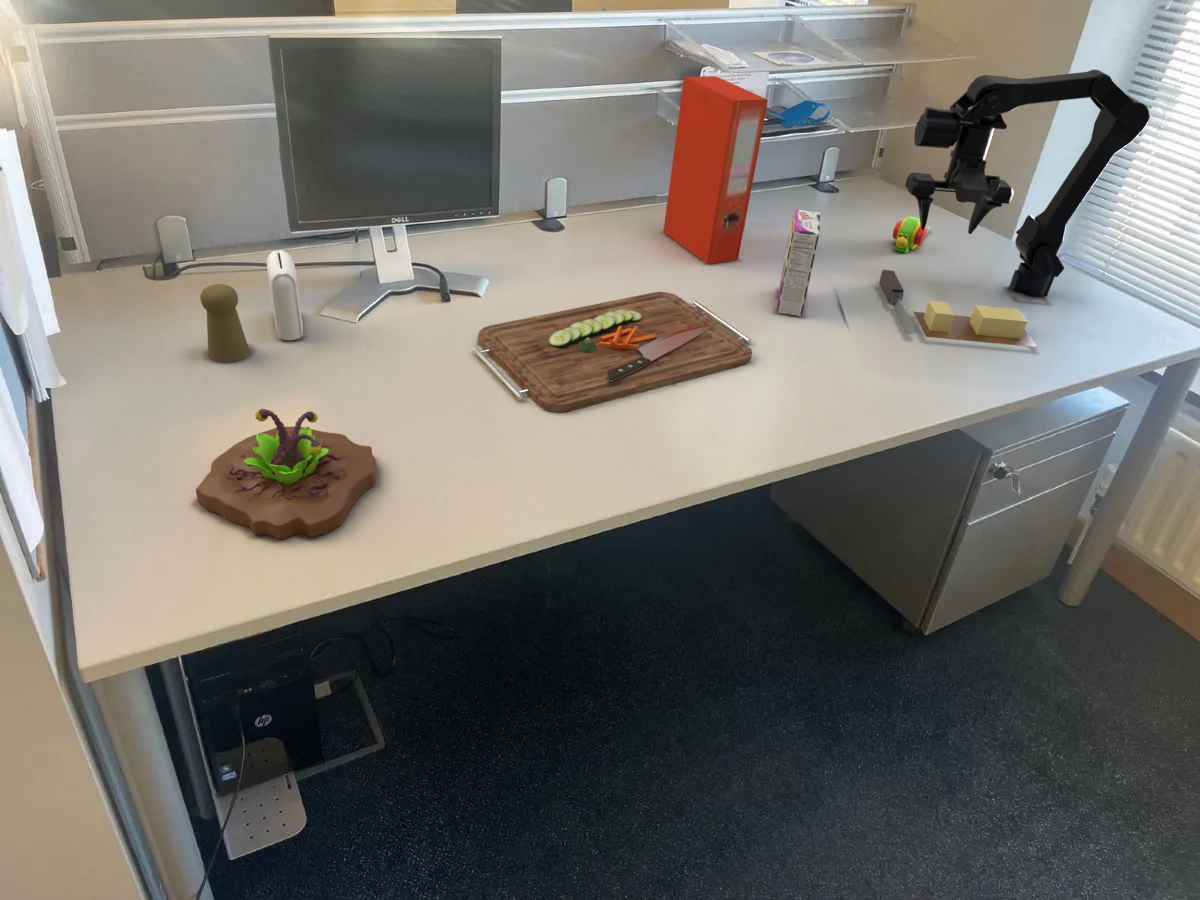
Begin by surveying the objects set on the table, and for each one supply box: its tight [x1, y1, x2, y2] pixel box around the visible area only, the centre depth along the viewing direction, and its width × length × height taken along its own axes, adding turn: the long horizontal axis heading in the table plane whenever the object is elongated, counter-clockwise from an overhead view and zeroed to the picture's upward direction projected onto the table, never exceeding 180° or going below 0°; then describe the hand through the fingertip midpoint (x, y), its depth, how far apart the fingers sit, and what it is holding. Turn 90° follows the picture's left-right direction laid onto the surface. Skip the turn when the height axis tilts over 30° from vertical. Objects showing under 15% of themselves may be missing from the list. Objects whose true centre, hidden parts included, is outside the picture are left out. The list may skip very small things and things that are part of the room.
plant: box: [195, 408, 377, 540], centre depth 111 cm, size 20×20×11 cm
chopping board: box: [472, 291, 753, 413], centre depth 150 cm, size 45×27×3 cm, turn 122°
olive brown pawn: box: [199, 283, 251, 363], centre depth 137 cm, size 6×6×11 cm
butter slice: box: [923, 300, 956, 332], centre depth 164 cm, size 4×5×4 cm
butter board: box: [913, 311, 1038, 348], centre depth 165 cm, size 20×10×1 cm, turn 87°
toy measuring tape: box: [892, 215, 931, 254], centre depth 200 cm, size 6×19×7 cm, turn 145°
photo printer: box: [266, 249, 304, 341], centre depth 145 cm, size 10×4×12 cm, turn 20°
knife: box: [878, 269, 914, 335], centre depth 169 cm, size 2×22×4 cm, turn 177°
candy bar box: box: [776, 208, 821, 318], centre depth 166 cm, size 11×5×16 cm, turn 168°
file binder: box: [662, 75, 769, 265], centre depth 181 cm, size 8×17×32 cm, turn 28°
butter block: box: [969, 304, 1028, 339], centre depth 164 cm, size 8×5×4 cm, turn 87°
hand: (945, 231), depth 175 cm, fingers open, 9 cm apart
